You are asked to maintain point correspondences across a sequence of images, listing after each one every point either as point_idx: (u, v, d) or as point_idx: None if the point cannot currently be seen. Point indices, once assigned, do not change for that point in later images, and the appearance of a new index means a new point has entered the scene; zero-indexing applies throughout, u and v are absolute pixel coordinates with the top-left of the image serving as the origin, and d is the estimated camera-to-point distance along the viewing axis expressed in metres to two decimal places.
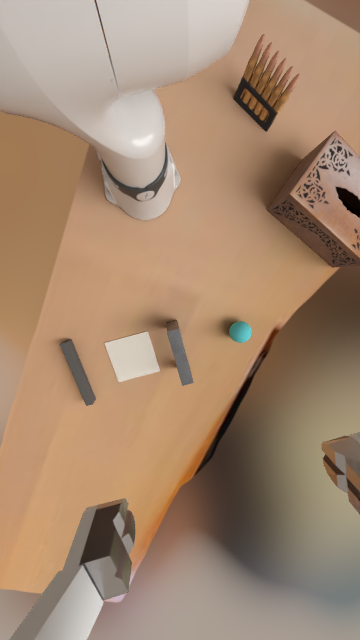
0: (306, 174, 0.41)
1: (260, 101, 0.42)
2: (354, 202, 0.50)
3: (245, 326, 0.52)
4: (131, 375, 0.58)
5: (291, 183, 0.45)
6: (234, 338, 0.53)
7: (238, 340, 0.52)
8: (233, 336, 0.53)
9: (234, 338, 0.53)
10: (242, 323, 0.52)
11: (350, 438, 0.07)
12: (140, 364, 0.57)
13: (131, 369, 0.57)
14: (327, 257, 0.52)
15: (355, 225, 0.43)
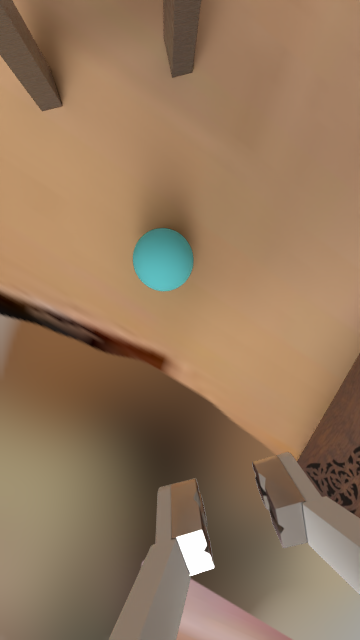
0: None
1: None
2: None
3: (186, 264, 0.17)
4: None
5: None
6: (147, 235, 0.17)
7: (142, 245, 0.17)
8: (154, 231, 0.17)
9: (148, 234, 0.17)
10: (191, 260, 0.18)
11: (277, 459, 0.07)
12: None
13: None
14: (318, 452, 0.27)
15: None
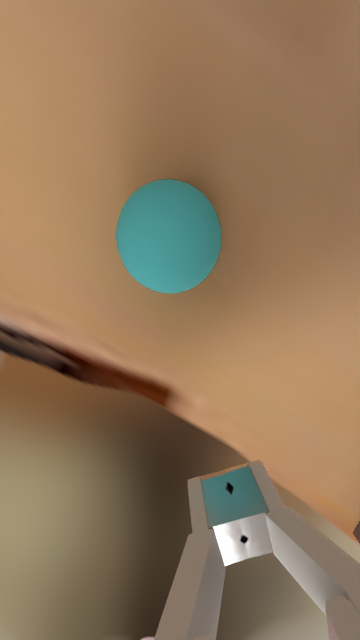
0: None
1: None
2: None
3: (213, 245, 0.10)
4: None
5: None
6: (140, 190, 0.09)
7: (130, 209, 0.09)
8: (153, 182, 0.09)
9: (142, 187, 0.09)
10: (220, 239, 0.10)
11: (247, 467, 0.07)
12: None
13: None
14: None
15: None
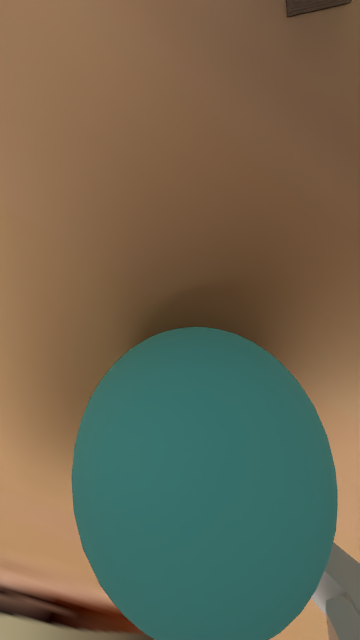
0: None
1: None
2: None
3: (272, 372, 0.04)
4: None
5: None
6: None
7: None
8: None
9: None
10: None
11: None
12: None
13: None
14: None
15: None
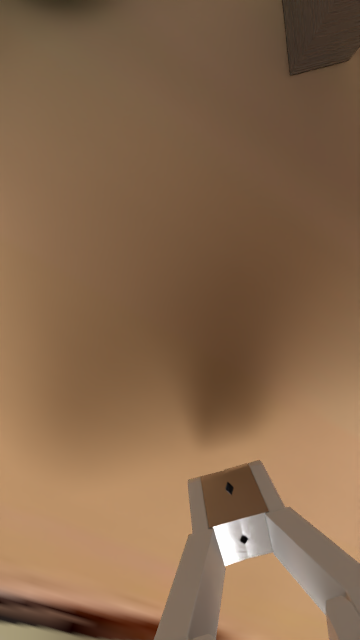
0: None
1: None
2: None
3: None
4: None
5: None
6: None
7: None
8: None
9: None
10: None
11: (247, 467, 0.07)
12: None
13: None
14: None
15: None
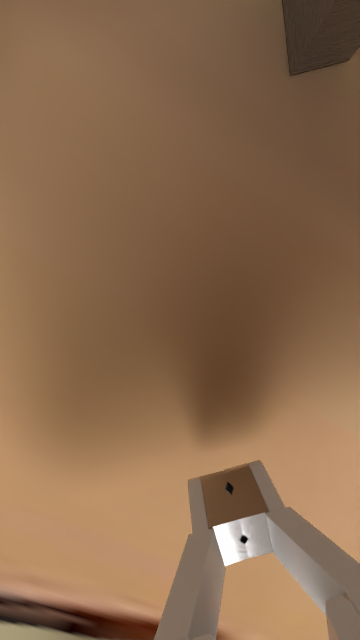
0: None
1: None
2: None
3: None
4: None
5: None
6: None
7: None
8: None
9: None
10: None
11: (247, 467, 0.07)
12: None
13: None
14: None
15: None
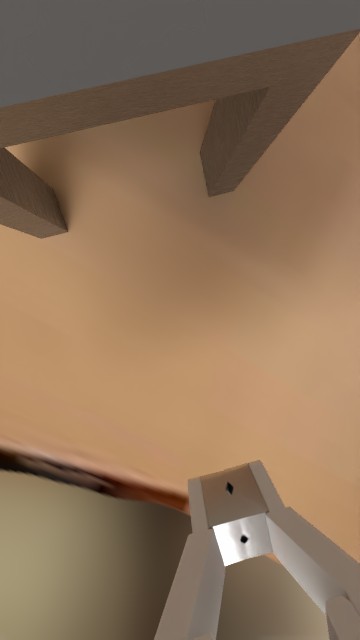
0: None
1: None
2: None
3: None
4: None
5: None
6: None
7: None
8: None
9: None
10: None
11: (247, 467, 0.07)
12: None
13: None
14: None
15: None
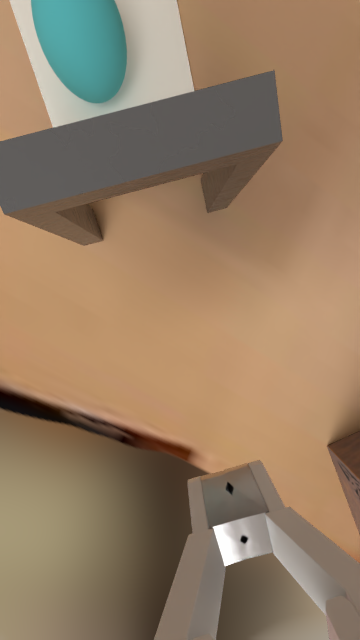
0: None
1: None
2: None
3: None
4: (28, 9, 0.15)
5: None
6: (96, 102, 0.16)
7: None
8: (105, 101, 0.16)
9: None
10: None
11: (247, 467, 0.07)
12: None
13: None
14: None
15: None
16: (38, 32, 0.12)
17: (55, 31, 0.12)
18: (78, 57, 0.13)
